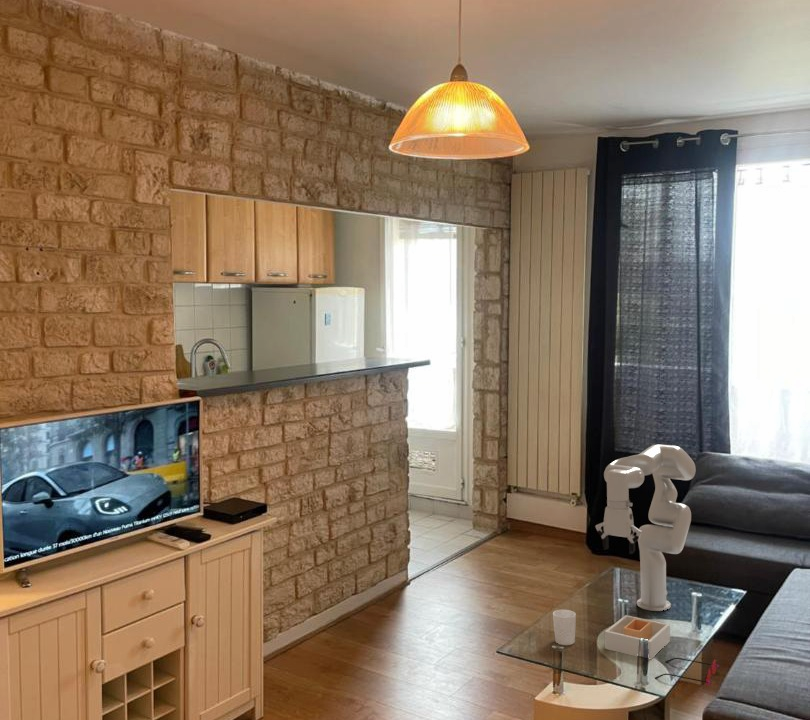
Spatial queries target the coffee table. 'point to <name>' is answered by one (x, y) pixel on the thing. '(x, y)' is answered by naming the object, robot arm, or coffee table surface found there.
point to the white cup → (564, 626)
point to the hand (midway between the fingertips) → (618, 551)
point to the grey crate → (629, 643)
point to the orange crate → (638, 629)
